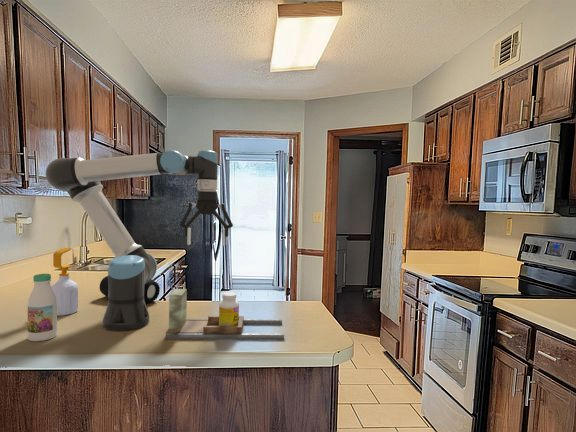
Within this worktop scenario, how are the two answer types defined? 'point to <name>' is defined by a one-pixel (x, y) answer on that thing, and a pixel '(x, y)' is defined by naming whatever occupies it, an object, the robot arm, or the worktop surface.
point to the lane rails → (230, 335)
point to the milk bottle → (42, 310)
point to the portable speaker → (149, 289)
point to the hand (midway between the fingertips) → (206, 244)
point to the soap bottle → (64, 287)
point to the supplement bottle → (229, 310)
